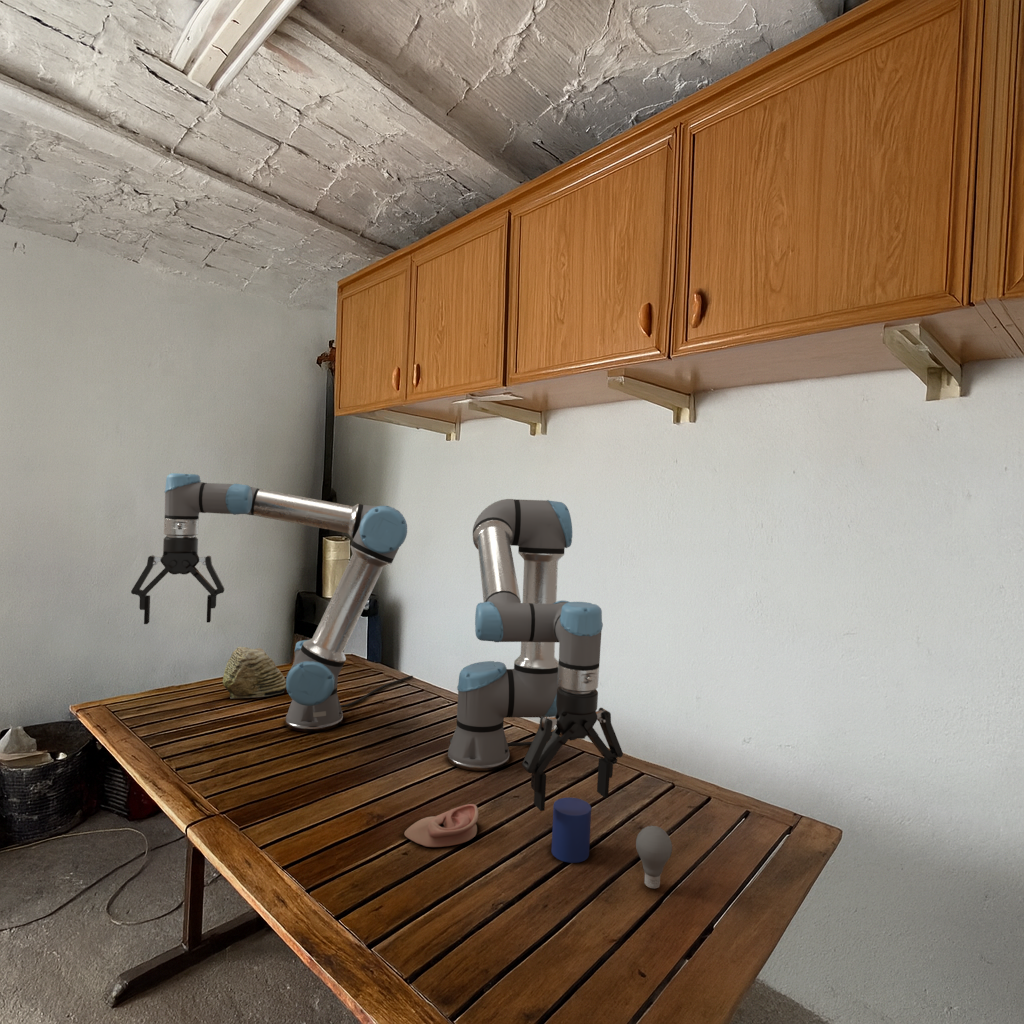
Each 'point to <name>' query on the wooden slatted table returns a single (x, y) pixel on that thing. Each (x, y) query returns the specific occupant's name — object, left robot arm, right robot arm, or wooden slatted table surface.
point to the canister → (571, 830)
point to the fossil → (252, 674)
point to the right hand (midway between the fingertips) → (571, 800)
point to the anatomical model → (445, 827)
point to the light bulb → (653, 853)
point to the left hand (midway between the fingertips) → (178, 622)
